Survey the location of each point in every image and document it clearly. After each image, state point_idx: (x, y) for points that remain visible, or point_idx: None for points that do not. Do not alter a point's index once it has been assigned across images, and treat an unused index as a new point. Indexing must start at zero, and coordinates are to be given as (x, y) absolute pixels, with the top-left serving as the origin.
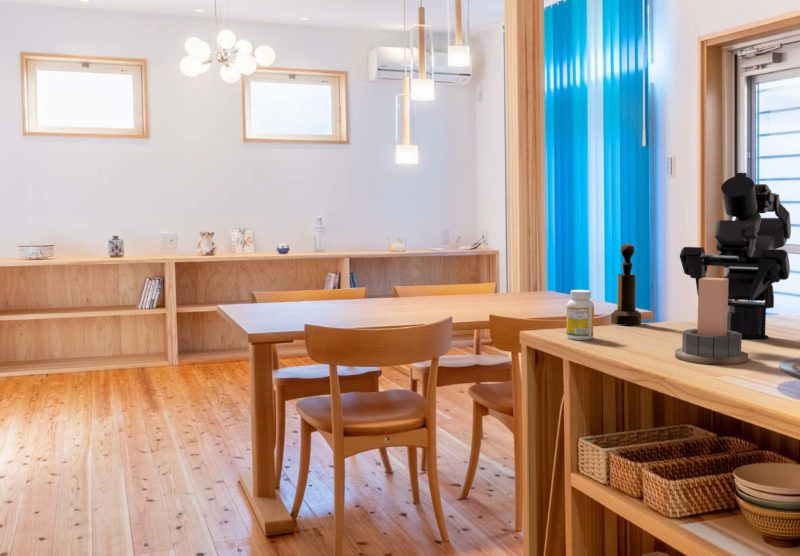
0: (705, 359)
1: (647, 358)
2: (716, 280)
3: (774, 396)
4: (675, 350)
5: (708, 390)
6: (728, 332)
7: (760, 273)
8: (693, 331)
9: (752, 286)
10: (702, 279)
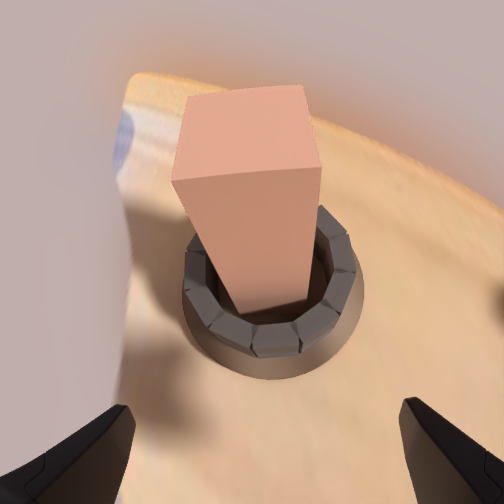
0: None
1: (386, 208)
2: (217, 93)
3: (139, 103)
4: (357, 259)
5: (209, 84)
6: (229, 314)
7: (22, 487)
8: (332, 275)
9: (95, 437)
10: (285, 86)
